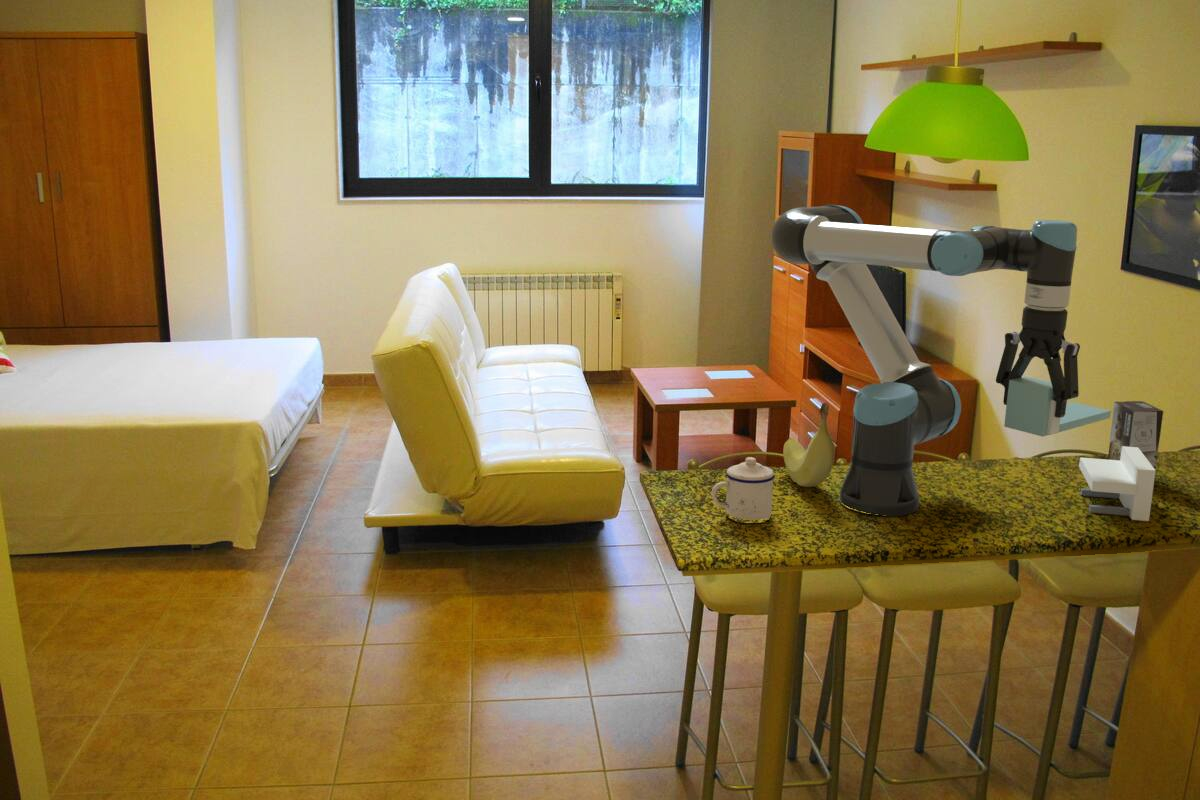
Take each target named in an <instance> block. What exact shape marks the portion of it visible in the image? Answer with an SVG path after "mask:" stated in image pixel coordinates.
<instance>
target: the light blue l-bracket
mask: <svg viewBox="0 0 1200 800" xmlns="http://www.w3.org/2000/svg"><path fill="white" fill-rule="evenodd" d="M1054 398H1055V395H1054V391H1053V387H1052V383H1051V381H1046V380H1042V379H1038V378H1033V377H1029V376H1022V377H1021V378H1017V379H1012V380H1009V389H1008V397H1007V406H1006V405H1005V407H1006V408H1005V414H1006V415H1005V416H1004V424H1003V428H1004V427H1005V428H1008V429H1012V430H1016V431H1020V432H1022V433H1023V432H1024V433H1027V434H1031V435H1035V436H1039V437H1047V436H1049V435H1048V434H1047V428H1048V420H1049V412H1050V404H1051V400H1052V399H1054ZM1111 413H1112V410H1110V409H1105V408H1100V407H1096V406H1092V405H1087V404H1083V403H1079V402H1074V401H1072V402H1067V404H1066V411H1065V415H1064V417H1061V418H1060V426H1059V433H1061V432H1065V431H1069V430H1072V429H1076V428H1079V427H1082V426H1086V425H1090V424H1094V423H1098V422H1101V421H1104V420H1108V419H1111V415H1112V414H1111Z"/></svg>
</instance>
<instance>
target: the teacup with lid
mask: <svg viewBox="0 0 1200 800" xmlns="http://www.w3.org/2000/svg"><path fill="white" fill-rule="evenodd" d="M725 476H726V481H720V482H717V483H716V484H714V486H713V487H712V489H711V497H712V501H713V503H715V505H716V506H718V507H720V508H723V509H725V513H726V512H727V513H728V514H729V515H731V516H733V517H737V518H741V519H746V520H760V519H765V518H768V517H769V516H771V514H772V512H773V511H772V510H773V492H774V491H773V489H774V479H775V477H776V476H775V472H774V470H772V469H771V468H770V467H768V466H765V465H763V464H761V463H759V462H757V459H756V458H755V457H752V456H747V457H746V458H745V461H742V462H740V463H739V464H735V465H732V466H729V467H728V468H727V470H726V472H725ZM723 487H726V496H725V497H726V500H725V502H720V501H719V500H718V498H717V492H718V490H719V489H720V488H723ZM772 515H773V514H772ZM771 517H772V516H771Z"/></svg>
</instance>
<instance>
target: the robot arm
mask: <svg viewBox="0 0 1200 800" xmlns="http://www.w3.org/2000/svg"><path fill="white" fill-rule="evenodd" d="M1077 236H1078V226H1077V225H1076V224H1075V223H1074V222H1073V221H1070V220H1069V221H1068V220H1059V219H1057V220H1055V219H1053V220H1052V219H1038V220H1035V221H1034V222H1033V225H1032V227H1031V229H1016V228H1009V227H997V226H994V225H989V226H988V225H987V226H984V225H983V226H982V225H980V226H979V225H978V226H973V227H972V228H971V229H970V230H968V231H967V230H948V229H936V228H934V229H932V228H919V227H906V226H894V225H882V224H881V225H880V224H879V225H877V224H866V223H864V222H863V220H862V218H861V216H860V215H859V214H858V213H857V212H856V211H854V210H853V209H851V208H849V207H848V206H843V205H838V204H837V205H836V204H826V205H825V204H824V205H822V206H805V207H794V208H792V209H788V210H787V211H785V212H784V213H782V214H781V215H780V216H779V217H778V218H777V219H776V220H775V222H774V224H773V226H772V230H771V237H770V238H771V244H772V248H773V250H774V251H775V253H776V255H777V256H778V257H779V258H780V259H781V260H783V261H784V262H786V263H789V264H792V265H809V266H810V268H811V270H812V271H813V273H814V275H815V277H816V279H818V280H821V281H824V282H826V283H828V286H829V287H830V289H831V291H832V292H833V295H834V296H835V298H836V301H837V302H838V304H839V305H840V309H842V311H843V313H844V315H845V317H846V319H847V321H848V323H849V324H850V326H851V329H852V330H853V332H854V333H855V336H856V337H857V340H858V341H859V343H860V345H861V347H862V348H863V350H864V352H865V355H866V356H867V358H868V360H869V361H870V363H871V365H872V367H873V369H874V370H875V373H876V375H877V377H878V378H879V380H880V383H878V382H875V383H871V384H868V385H865V386H864V387H862V388H861V389H859V391H857V392H856V395H855V397H854V398H855V399H854V404H853V409H852V413H853V416H852V417H853V418H852V419H853V423H852V439H851V453H850V455H851V457H850V465H849V467H848V470H847V472H846V474H845V477H844V479H843V482H842V484H841V487H840V489H839V499H840V501H841V503H843V504H844V505H846V506H848V507H850V508H853V509H856V510H858V511H863V512H866V513H871V514H878V515H886V516H885V517H901V516H907V515H911V514H913V513H916V512H917V511H918V510H919V505H920V503H919V502H920V494H919V491H918V486H917V483H916V478H915V475H914V470H913V458H914V450H915V449H914V447H915V446H916V445H919V444H923V443H925V442H927V441H931V440H936V439H939V438H941V437H942V436H944V435H946V434H947V433H949V432H950V431H952V430H953V429H954V428H955V426H956V425H957V424H958V422H959V421H960V420H959V419H960V415H961V412H962V402H961V397H960V395H959V392H958V391H957V389H956V388H955V387H954V385H953V384H952V383H950V381H947V380H944V379H942V378H939V377H938V376H937V374H936V373H935V370H934V369H933V367H932V365H931V364H930V363H925V362H922V361H920V360H919V358H918V356H917V354H916V353H915V351H914V349H913V347H912V345H911V343H910V342H909V340H908V338H907V336H906V334H905V331H903V329H902V327H901V325H900V323H899V321H898V320H897V318H896V316H895V314H894V313H893V310H892V308H891V307H890V306H889V303H888V301H887V299H886V297H885V296H884V294H883V292H882V291H881V289H880V287H879V285H878V283H877V282H876V280H875V278H874V276H873V274H872V273H871V270H870V268H869V267H868V265H870V266H880V267H881V266H883V267H889V268H901V269H909V270H911V269H913V270H923V271H934V272H940V273H941V274H942V275H945V276H950V277H963V276H967V275H969V274H975V273H980V272H987V271H994V270H1007V271H1019V272H1026V285H1025V293H1024V300H1023V301H1024V304H1025V306H1024V307H1023V309H1022V317H1021V326H1022V328H1021V330H1020V332H1016V331H1013V332H1008V333H1005V334H1004V348H1003V352H1002V355H1001V359H1000V363H999V366H998V370H997V373H996V378H995V382H996V384H1000V385H1001V386H1002V387H1003V388H1004V391H1003V392H1004V393H1003V399H1002V400H1003V406H1004V405H1005V407H1006V406H1007V397H1008V389H1009V380H1012V379H1017V378H1021V377H1023V375H1024V373H1025V372H1026V370H1027V368H1028V367H1029V365H1030V363H1031V361H1032V360H1033V358H1036V357H1037V358H1038V359H1042V360H1043V362H1044V365H1045V366H1046V368H1047V371H1048V376H1049V379H1050V382H1051V383H1052V387H1053V391H1054V395H1055V398H1054V399H1052V400H1051V404H1050V412H1049V420H1048V428H1047V434H1048V435H1047V436H1051V435H1056V434H1059V433H1060V432H1059V426H1060V418H1061V417H1064V415H1065V411H1066V404H1067V403H1068V400H1073V399H1075V398H1077V397H1079V394H1080V392H1079V391H1080V390H1079V369H1078V368H1079V366H1078V356H1079V353H1080V352H1079V351H1080V349H1081V345H1080V343H1077V342H1076V343H1072V342H1070V341H1067V340H1066V338H1065V330H1066V328H1067V320H1068V310H1067V309H1066V308H1067V307H1069V305H1070V299H1071V298H1070V297H1071V289H1072V277H1073V271H1074V265H1075V258H1076V251H1077V247H1078V246H1077V239H1078V238H1077ZM1020 342H1021V344H1022V346H1023V347H1022V349H1021V350H1020V352H1019V354H1018V358H1017V360H1016V361H1015V359H1016V356H1017V352H1018V350H1019V349H1018V348H1019V344H1020ZM1060 350H1062V353H1063V369H1062V365H1061V361H1062V358H1061V355H1060ZM1014 362H1015V364H1014ZM1005 415H1006V413H1005ZM840 501H839V502H840ZM841 503H840V504H841Z"/></svg>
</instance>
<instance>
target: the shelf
mask: <svg viewBox="0 0 1200 800" xmlns="http://www.w3.org/2000/svg"><path fill="white" fill-rule="evenodd" d="M1078 469H1079V470H1080V471H1081V473H1082V475H1083V477H1084V479H1085V481H1086V483H1087V485H1088V486H1089V488H1084V487H1083V488H1080V496H1081V495H1083V496H1082V497H1095V498H1106V499H1117V498H1118V499H1119V500H1120V503H1121V504H1122V506H1113V505H1111V506H1110V505H1100V504H1099V505H1098V504H1089V505H1088V507H1089V508H1088V512H1089V513H1094V514H1103V515H1106V514H1107V515H1115V516H1127V517H1128V516H1129V518H1130V519H1131V521H1141V522H1142V521H1144V522H1149V521H1150V517H1151V516H1150V515H1151V507H1152V500H1153V493H1154V486H1155V485H1154V484H1155V478H1156V471H1157V470H1155V469H1154V468H1153V466H1152V465H1151V464H1150V462H1149V461H1148V460H1147V458H1146V457H1145V456H1144V455H1143V453H1142V452H1141V451H1140V449H1139V448H1138V447H1126V446H1122V449H1121V457H1120V460H1108V458H1107V459H1105V458H1104V459H1103V458H1093V457H1092V458H1091V457H1080V458H1079V464H1078Z"/></svg>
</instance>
